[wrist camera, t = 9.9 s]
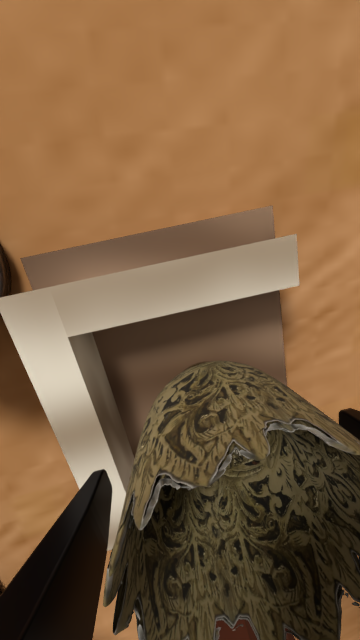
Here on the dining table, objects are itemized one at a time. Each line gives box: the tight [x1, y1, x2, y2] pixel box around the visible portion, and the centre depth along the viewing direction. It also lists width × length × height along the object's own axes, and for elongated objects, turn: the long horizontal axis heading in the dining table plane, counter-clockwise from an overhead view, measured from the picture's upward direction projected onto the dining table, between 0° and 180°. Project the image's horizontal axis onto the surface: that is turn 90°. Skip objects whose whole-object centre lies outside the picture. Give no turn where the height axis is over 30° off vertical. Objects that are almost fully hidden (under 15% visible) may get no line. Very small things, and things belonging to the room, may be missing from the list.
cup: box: [103, 361, 360, 640], centre depth 9 cm, size 8×7×8 cm
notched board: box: [0, 206, 299, 551], centre depth 12 cm, size 17×12×4 cm
